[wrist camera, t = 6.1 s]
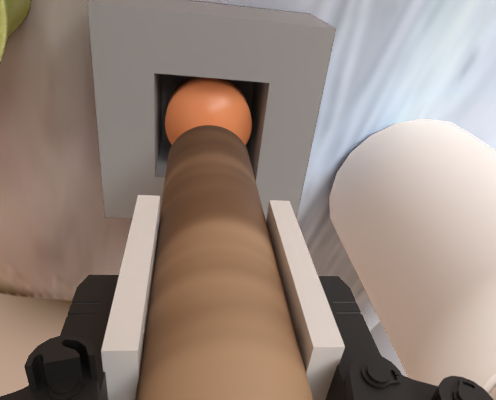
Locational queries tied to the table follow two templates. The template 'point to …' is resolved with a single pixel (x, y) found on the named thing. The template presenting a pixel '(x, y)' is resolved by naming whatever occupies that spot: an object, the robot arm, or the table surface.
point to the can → (425, 244)
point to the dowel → (217, 284)
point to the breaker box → (209, 66)
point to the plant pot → (11, 19)
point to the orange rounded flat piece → (207, 107)
